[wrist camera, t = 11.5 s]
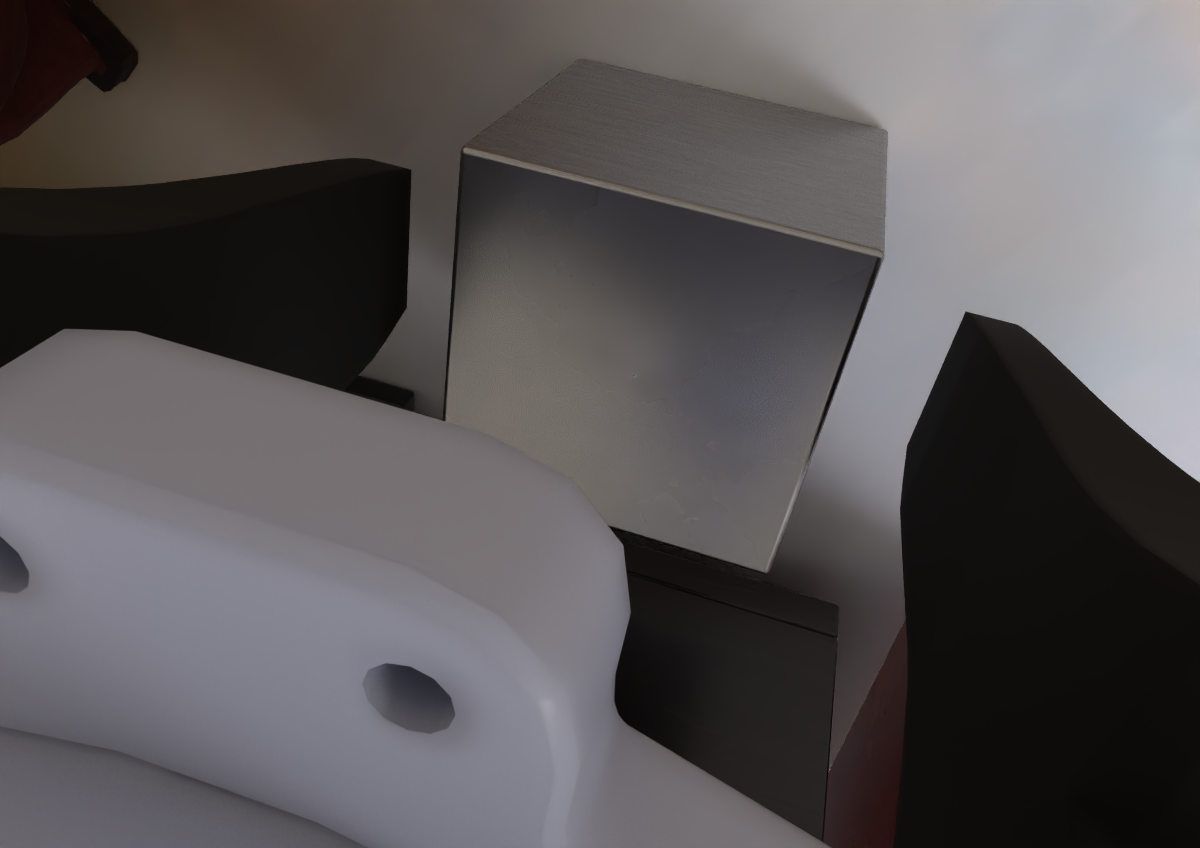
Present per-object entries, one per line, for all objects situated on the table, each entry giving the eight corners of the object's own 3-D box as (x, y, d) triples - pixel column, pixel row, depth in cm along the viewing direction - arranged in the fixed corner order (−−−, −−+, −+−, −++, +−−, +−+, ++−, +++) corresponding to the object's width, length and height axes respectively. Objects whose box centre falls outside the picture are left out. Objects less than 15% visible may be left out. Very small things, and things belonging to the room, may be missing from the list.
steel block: (889, 129, 12) (886, 253, 9) (798, 397, 15) (768, 578, 11) (578, 56, 13) (458, 145, 9) (541, 326, 16) (437, 478, 12)
